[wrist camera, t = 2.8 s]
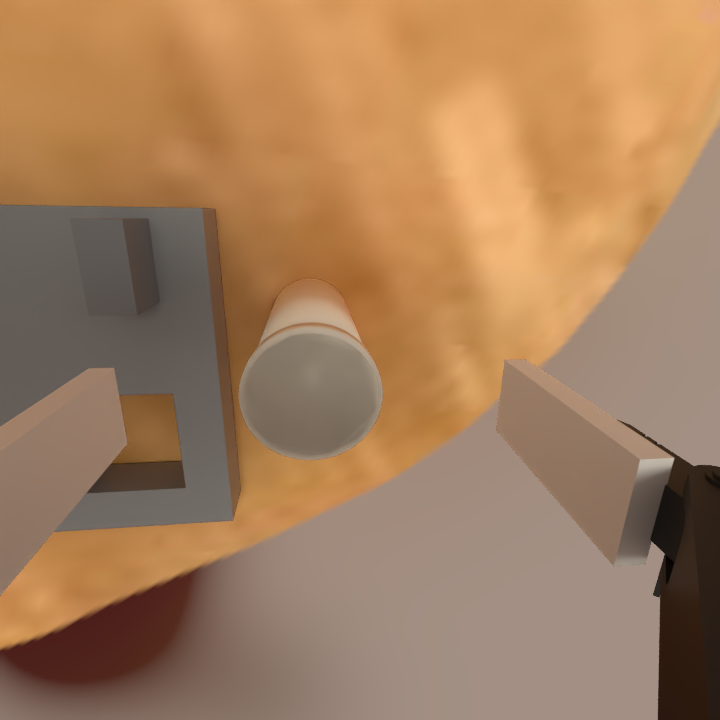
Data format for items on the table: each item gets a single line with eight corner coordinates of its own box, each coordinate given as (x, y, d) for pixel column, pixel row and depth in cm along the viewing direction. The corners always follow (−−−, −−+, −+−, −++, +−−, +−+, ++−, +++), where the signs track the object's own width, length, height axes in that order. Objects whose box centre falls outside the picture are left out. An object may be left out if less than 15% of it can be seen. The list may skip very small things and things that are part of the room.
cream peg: (267, 275, 25) (232, 329, 13) (350, 275, 25) (385, 327, 14) (272, 355, 26) (244, 463, 15) (350, 353, 27) (380, 456, 15)
